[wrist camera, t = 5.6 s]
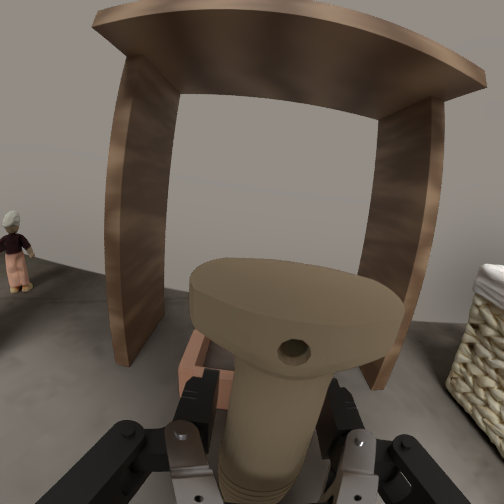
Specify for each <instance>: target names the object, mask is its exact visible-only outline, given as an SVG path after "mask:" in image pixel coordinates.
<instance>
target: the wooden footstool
mask: <svg viewBox="0 0 504 504" xmlns="http://www.w3.org/2000/svg"><path fill="white" fill-rule="evenodd" d="M92 28H93V29H94V30H96V31H97V32H98V33H99V34H101V35H102V36H103V37H104V38H106V39H107V40H108V41H109V42H111V43H112V44H113V45H114V46H115V47H116V48H117V49H119V50H120V51H121V52H122V53H123V54H124V55H126V56H127V57H126V61H125V65H124V69H123V73H122V77H121V82H120V86H119V91H118V96H117V102H116V107H115V112H114V118H113V125H112V131H111V139H110V147H109V155H108V165H107V177H106V192H105V219H104V222H105V223H104V241H105V242H104V246H105V274H106V289H107V301H108V311H109V320H110V328H111V335H112V342H113V348H114V355H115V360H116V364H119V365H123V366H127V367H130V365H131V364H132V362H133V361H134V359H135V358H136V356H137V355H138V353H139V351H140V350H141V348H142V347H143V345H144V344H145V342H146V341H147V339H148V338H149V336H150V335H151V333H152V332H153V330H154V329H155V327H156V326H157V324H158V323H159V321H160V320H161V318H162V317H163V316H164V255H165V254H164V253H165V229H166V212H167V198H168V185H169V175H170V165H171V156H172V147H173V139H174V131H175V124H176V117H177V111H178V105H179V98H180V94H219V95H236V96H249V97H259V98H269V99H278V100H284V101H291V102H298V103H304V104H310V105H316V106H321V107H326V108H331V109H336V110H340V111H345V112H349V113H353V114H357V115H361V116H366V117H369V118H373V119H376V120H378V121H379V122H378V138H377V151H376V161H375V171H374V180H373V188H372V196H371V203H370V210H369V216H368V222H367V228H366V234H365V240H364V245H363V250H362V256H361V260H360V265H359V270H358V274H357V275H358V276H362V277H366V278H369V279H373V280H375V281H377V282H379V283H381V284H383V285H384V286H386V287H388V288H389V289H390V290H392V291H393V292H394V293H395V294H396V295H397V296H398V297H399V298H400V299H401V301H402V302H403V304H404V307H405V313H404V316H403V319H402V322H401V325H400V328H399V331H398V334H397V337H396V339H395V342H394V344H393V346H392V348H391V349H390V351H389V352H388V354H387V355H386V356H385V357H382V358H380V359H378V360H375V361H373V362H370V363H367V364H364V365H361V366H359V367H360V369H361V371H362V373H363V375H364V377H365V379H366V381H367V383H368V385H369V387H370V389H371V390H382V389H384V387H385V385H386V383H387V381H388V379H389V376H390V374H391V372H392V369H393V367H394V365H395V362H396V360H397V358H398V355H399V353H400V350H401V348H402V345H403V342H404V340H405V337H406V334H407V332H408V329H409V326H410V323H411V320H412V317H413V314H414V311H415V307H416V305H417V301H418V298H419V294H420V291H421V288H422V284H423V280H424V276H425V272H426V268H427V264H428V260H429V256H430V251H431V246H432V242H433V237H434V231H435V226H436V220H437V214H438V207H439V200H440V191H441V182H442V172H443V158H444V133H445V127H444V126H445V122H444V121H445V114H444V102H445V101H448V100H451V99H454V98H456V97H460V96H462V95H465V94H468V93H472V92H474V91H478V90H481V89H484V88H487V84H486V76H485V71H484V70H483V69H481V68H480V67H478V66H477V65H475V64H474V63H472V62H470V61H469V60H467V59H465V58H464V57H462V56H460V55H459V54H457V53H455V52H454V51H452V50H450V49H448V48H446V47H444V46H443V45H440V44H439V43H437V42H435V41H433V40H431V39H429V38H427V37H424V36H422V35H420V34H418V33H415V32H413V31H411V30H409V29H406V28H404V27H401V26H399V25H396V24H394V23H391V22H389V21H386V20H383V19H380V18H377V17H374V16H371V15H368V14H364V13H361V12H358V11H355V10H351V9H347V8H344V7H340V6H335V5H331V4H326V3H322V2H317V1H312V0H141V1H136V2H131V3H127V4H122V5H118V6H114V7H110V8H107V9H104V10H99V11H98V12H97V15H96V17H95V19H94V22H93V25H92Z"/></svg>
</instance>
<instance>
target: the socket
mask: <svg viewBox="0 0 504 504" xmlns="http://www.w3.org/2000/svg"><path fill="white" fill-rule="evenodd" d="M209 344H210V339H209V338H207V337H206V336H204V335H203V334H202V333H200V332H199V331H198V330H196V329H195V328H194V331H193V333H192V336H191V338H190V340H189V343H188V345H187V347H186V350H185V352H184V355H183V357H182V360H181V362H180V364H179V367H178V374H179V394H180V398H181V395H182V392H183V389H184V387H185V384H186V382H187V381H188V380H189V379H190V378H191V377H192V376H195V377H202V375H203V371H204V368H206V367H203V364H204V361H205V358H206V354H207V351H208V347H209ZM210 369H213V368H210ZM217 370H220V376H219V392H218V401H217V407H216V408H217V409H225V410H228V406H229V400H230V394H231V388H232V382H233V376H234V371H229V370H221V369H217Z"/></svg>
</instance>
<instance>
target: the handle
mask: <svg viewBox="0 0 504 504" xmlns="http://www.w3.org/2000/svg"><path fill="white" fill-rule="evenodd" d="M189 312H190V317H191V321H192V324H193V326H194V328H195V329H196V330H198V331H199V332H200V333H202V334H203V335H204V336H206V337H207V338H209V339H210V340H212V341H213V342H215V343H216V344H218V345H219V346H221V347H222V348H224V349H226V350H227V351H229V352H231V353H232V354H234V355H235V370H234V376H233V382H232V388H231V394H230V400H229V406H228V412H227V417H226V422H225V427H224V432H223V437H222V442H221V447H220V451H219V458H218V480H219V486H220V490H221V493H222V496H221V498H222V500H223V502H230V503H241V504H277V503H278V502H279V501H280V500H281V499H282V498H283V497H284V496H285V495H286V494H287V492H288V491H289V490H290V488H291V487H292V486H293V484H294V482H295V480H296V479H297V477H298V475H299V473H300V470H301V468H302V465H303V462H304V460H305V457H306V454H307V451H308V448H309V445H310V442H311V439H312V436H313V433H314V430H315V427H316V424H317V421H318V418H319V415H320V412H321V409H322V406H323V403H324V400H325V396H326V393H327V390H328V387H329V384H330V382H331V380H332V378H333V376H334V374H335V372H339V371H344V370H348V369H351V368H355V367H358V366H361V365H364V364H367V363H370V362H373V361H375V360H378V359H380V358H382V357H385V356H386V355H387V354H388V352H389V351H390V349H391V348H392V346H393V344H394V342H395V339H396V337H397V334H398V331H399V328H400V325H401V322H402V319H403V316H404V313H405V307H404V304H403V302H402V301H401V299H400V298H399V297H398V296H397V295H396V294H395V293H394V292H393V291H392V290H390V289H389V288H388V287H386V286H384V285H383V284H381V283H379V282H377V281H375V280H373V279H369V278H366V277H362V276H358V275H355V274H351V273H347V272H344V271H340V270H336V269H331V268H326V267H322V266H316V265H309V264H303V263H296V262H290V261H282V260H273V259H255V258H221V259H216V260H211V261H209V262H206V263H203V264H202V265H200V266H198V267H197V268H196V269H195V270H194V271H193V272H192V274H191V276H190V284H189Z"/></svg>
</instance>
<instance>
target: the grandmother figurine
mask: <svg viewBox="0 0 504 504" xmlns="http://www.w3.org/2000/svg"><path fill="white" fill-rule="evenodd" d="M19 222H20V216H19V213H18V212H17V211H10V212H8V213H7V214H6V215H5V217H4V220H3V225H2V226H4V228H5V229H6V231H7V232H8V233H9V234H8V235H6V236H4V237H2V238H1V239H0V252H2V251H4V250H6V268H7V275H8V279H9V284H10V286H11V287H10V291H11V293H17V292H19V290H20V285H23V287H22V291H23V292H28V291H30V290H31V289H32V288H33V285H32V284H31V283H30V282H29V278H28V273H27V268H26V262H25V257H24V253H23V251H22V247H23V248H24V249H25V250H26V251H27V253H28V254H29V257H30V258H31V259H33V258H34V257H35V254H34V253H33V250H32V248H31V245H30V243H29V242H28V241H27V239H26V238H25V237H24V236H23V235H21V234H16V232H17V231H18V229H19Z"/></svg>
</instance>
